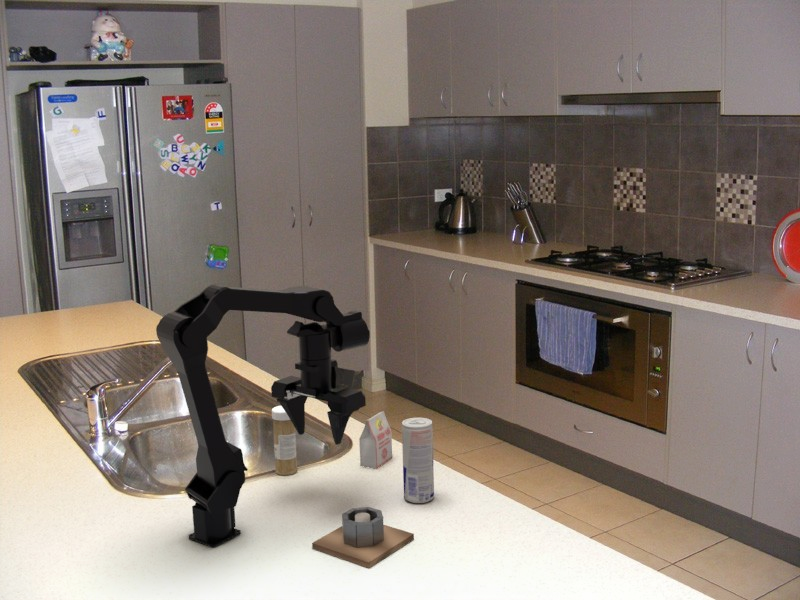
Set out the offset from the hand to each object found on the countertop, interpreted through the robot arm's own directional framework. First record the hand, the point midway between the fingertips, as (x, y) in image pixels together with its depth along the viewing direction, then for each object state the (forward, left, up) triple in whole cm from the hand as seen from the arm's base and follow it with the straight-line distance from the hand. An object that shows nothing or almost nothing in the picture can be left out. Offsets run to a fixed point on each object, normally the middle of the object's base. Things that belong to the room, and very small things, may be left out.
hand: (319, 438), depth 167 cm
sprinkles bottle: (+7, +16, -12) cm, 21 cm away
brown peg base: (-9, -17, -12) cm, 23 cm away
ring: (-9, -17, -11) cm, 23 cm away
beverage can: (+11, -14, -12) cm, 22 cm away
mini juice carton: (+21, +4, -12) cm, 24 cm away
